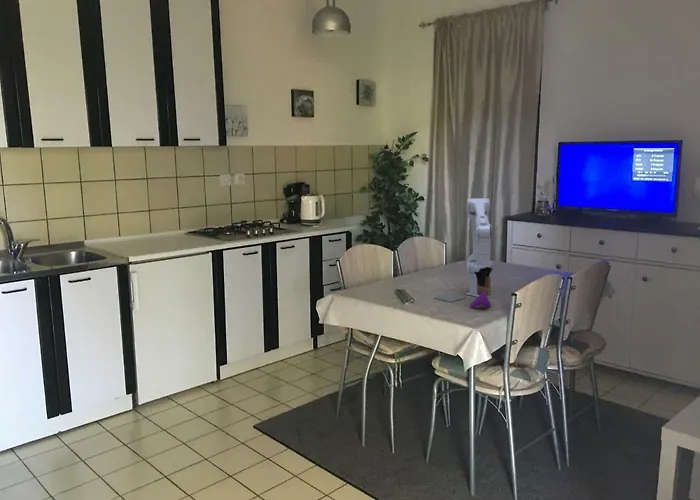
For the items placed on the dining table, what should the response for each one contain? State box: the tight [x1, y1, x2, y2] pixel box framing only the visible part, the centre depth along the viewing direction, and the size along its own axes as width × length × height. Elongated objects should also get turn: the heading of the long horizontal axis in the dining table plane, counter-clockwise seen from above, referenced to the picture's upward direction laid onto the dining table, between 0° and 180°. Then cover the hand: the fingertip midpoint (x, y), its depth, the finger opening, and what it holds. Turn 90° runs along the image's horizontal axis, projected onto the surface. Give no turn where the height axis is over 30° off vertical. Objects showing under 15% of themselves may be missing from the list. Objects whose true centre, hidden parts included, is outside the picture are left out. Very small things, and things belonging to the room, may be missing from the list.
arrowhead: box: [469, 291, 492, 309], centre depth 247 cm, size 10×2×10 cm
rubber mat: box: [433, 293, 466, 303], centre depth 264 cm, size 10×10×1 cm
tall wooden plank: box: [477, 275, 492, 297], centre depth 248 cm, size 2×5×8 cm, turn 54°
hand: (482, 285), depth 248 cm, fingers closed on tall wooden plank, 2 cm apart
